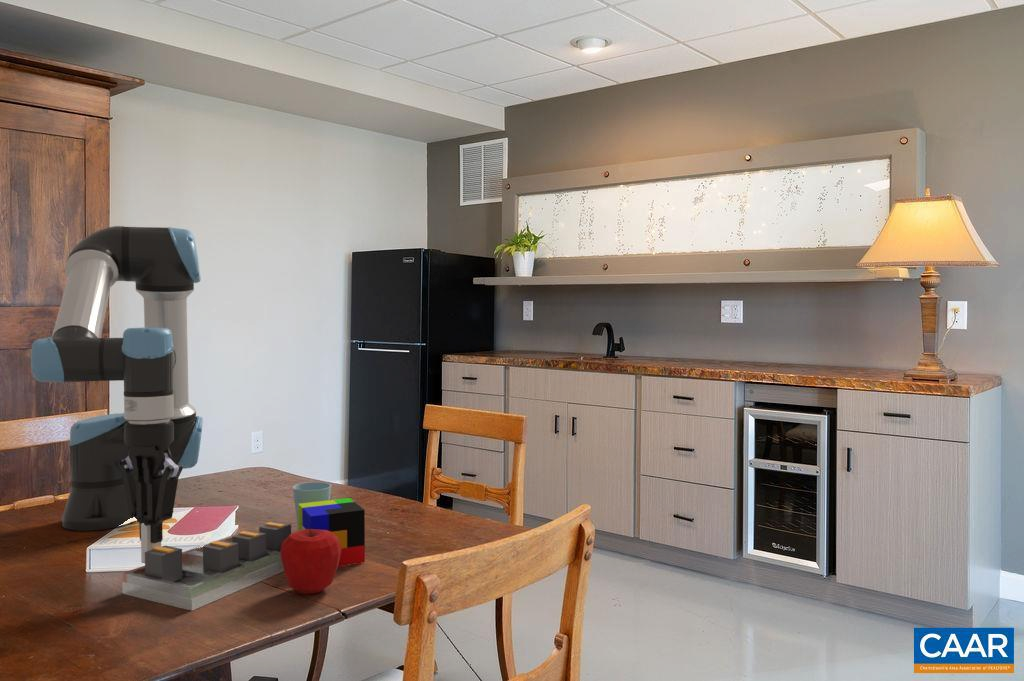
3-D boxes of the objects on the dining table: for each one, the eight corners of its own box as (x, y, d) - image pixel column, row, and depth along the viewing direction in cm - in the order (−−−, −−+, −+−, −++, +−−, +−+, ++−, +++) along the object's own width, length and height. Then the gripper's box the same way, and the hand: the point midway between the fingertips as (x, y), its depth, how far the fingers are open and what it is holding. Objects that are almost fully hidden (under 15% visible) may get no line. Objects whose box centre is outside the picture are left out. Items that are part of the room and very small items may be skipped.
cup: (334, 538, 161) (334, 488, 161) (296, 542, 158) (296, 491, 158) (327, 528, 168) (327, 480, 168) (291, 532, 165) (290, 483, 165)
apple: (284, 605, 125) (283, 538, 125) (276, 585, 134) (276, 523, 134) (346, 596, 129) (346, 531, 129) (335, 578, 138) (334, 516, 138)
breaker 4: (259, 553, 144) (259, 525, 144) (274, 547, 148) (274, 520, 148) (276, 557, 143) (275, 528, 142) (291, 550, 146) (291, 522, 146)
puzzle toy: (310, 571, 142) (310, 516, 142) (298, 555, 151) (298, 503, 150) (364, 562, 147) (364, 509, 146) (349, 548, 156) (349, 497, 155)
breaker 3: (232, 564, 139) (232, 534, 138) (249, 557, 142) (248, 528, 142) (249, 567, 137) (249, 537, 137) (266, 561, 140) (265, 531, 140)
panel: (122, 593, 130) (122, 572, 130) (240, 550, 154) (240, 532, 153) (191, 610, 123) (191, 588, 123) (304, 562, 146) (304, 543, 146)
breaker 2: (203, 575, 133) (202, 544, 132) (221, 568, 136) (221, 538, 136) (220, 579, 131) (220, 548, 131) (238, 572, 135) (238, 541, 134)
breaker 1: (145, 582, 130) (144, 550, 129) (165, 574, 133) (165, 543, 133) (162, 586, 128) (161, 553, 128) (182, 578, 131) (182, 547, 131)
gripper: (102, 420, 130) (105, 561, 131) (157, 426, 124) (159, 573, 125) (141, 415, 137) (144, 549, 138) (195, 420, 131) (197, 560, 132)
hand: (151, 560), depth 131 cm, fingers closed
